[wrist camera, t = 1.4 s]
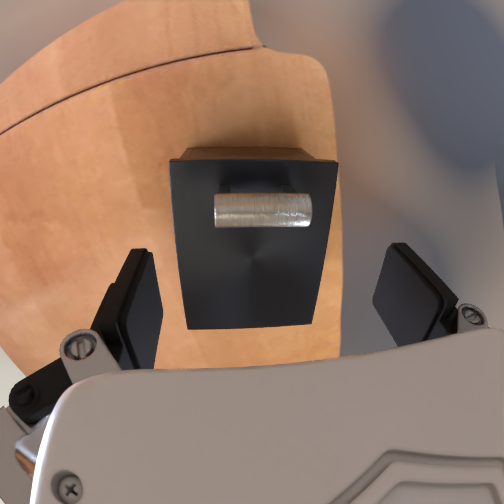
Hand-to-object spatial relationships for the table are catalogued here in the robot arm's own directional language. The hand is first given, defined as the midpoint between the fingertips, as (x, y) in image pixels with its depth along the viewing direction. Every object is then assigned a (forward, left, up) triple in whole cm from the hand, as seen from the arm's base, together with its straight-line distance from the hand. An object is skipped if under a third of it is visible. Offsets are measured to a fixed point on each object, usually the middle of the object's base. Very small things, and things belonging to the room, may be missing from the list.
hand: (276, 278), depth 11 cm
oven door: (+4, -1, -10) cm, 11 cm away
